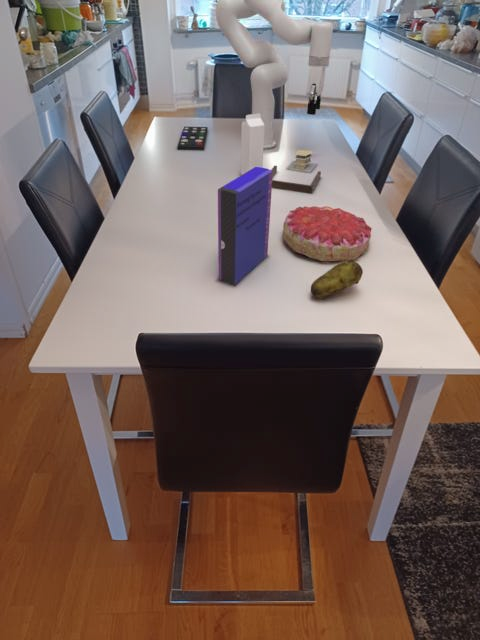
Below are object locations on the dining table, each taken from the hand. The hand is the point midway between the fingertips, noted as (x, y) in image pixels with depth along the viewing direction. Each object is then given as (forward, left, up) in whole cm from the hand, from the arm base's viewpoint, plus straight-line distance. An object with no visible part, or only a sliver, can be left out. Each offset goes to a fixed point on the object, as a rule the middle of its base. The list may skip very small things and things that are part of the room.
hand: (313, 111), depth 182 cm
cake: (+43, -61, -18) cm, 77 cm away
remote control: (-53, -14, -18) cm, 57 cm away
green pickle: (+58, -82, -18) cm, 102 cm away
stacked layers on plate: (+4, -11, -18) cm, 22 cm away
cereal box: (+34, -87, -18) cm, 95 cm away
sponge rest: (+10, -27, -18) cm, 34 cm away
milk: (-5, -33, -18) cm, 38 cm away
